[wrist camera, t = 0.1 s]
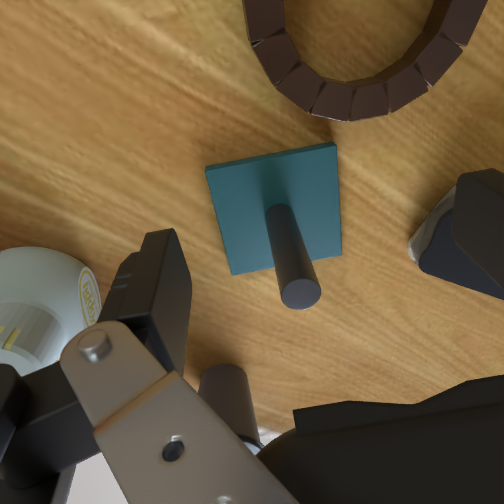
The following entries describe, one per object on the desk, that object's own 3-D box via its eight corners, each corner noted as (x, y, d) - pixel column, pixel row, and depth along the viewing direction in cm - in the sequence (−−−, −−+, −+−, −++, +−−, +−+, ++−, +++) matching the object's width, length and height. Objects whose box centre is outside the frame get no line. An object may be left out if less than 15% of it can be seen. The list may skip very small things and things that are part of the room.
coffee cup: (258, 352, 40) (268, 442, 32) (259, 398, 44) (268, 488, 36) (184, 358, 40) (173, 450, 31) (192, 404, 44) (185, 495, 36)
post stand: (205, 166, 28) (196, 239, 19) (333, 141, 28) (388, 203, 19) (231, 269, 34) (235, 364, 24) (339, 249, 33) (383, 338, 24)
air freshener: (111, 326, 36) (78, 419, 28) (25, 328, 36) (-36, 424, 27) (88, 230, 31) (37, 311, 22) (-16, 231, 30) (-109, 315, 22)
